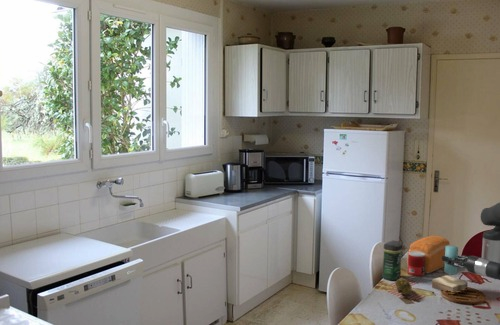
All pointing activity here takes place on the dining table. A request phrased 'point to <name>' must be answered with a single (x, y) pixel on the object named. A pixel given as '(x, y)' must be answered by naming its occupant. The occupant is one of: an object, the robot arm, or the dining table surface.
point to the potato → (403, 286)
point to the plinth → (448, 284)
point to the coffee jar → (392, 260)
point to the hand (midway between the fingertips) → (446, 257)
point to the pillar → (452, 253)
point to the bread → (431, 251)
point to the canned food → (416, 263)
